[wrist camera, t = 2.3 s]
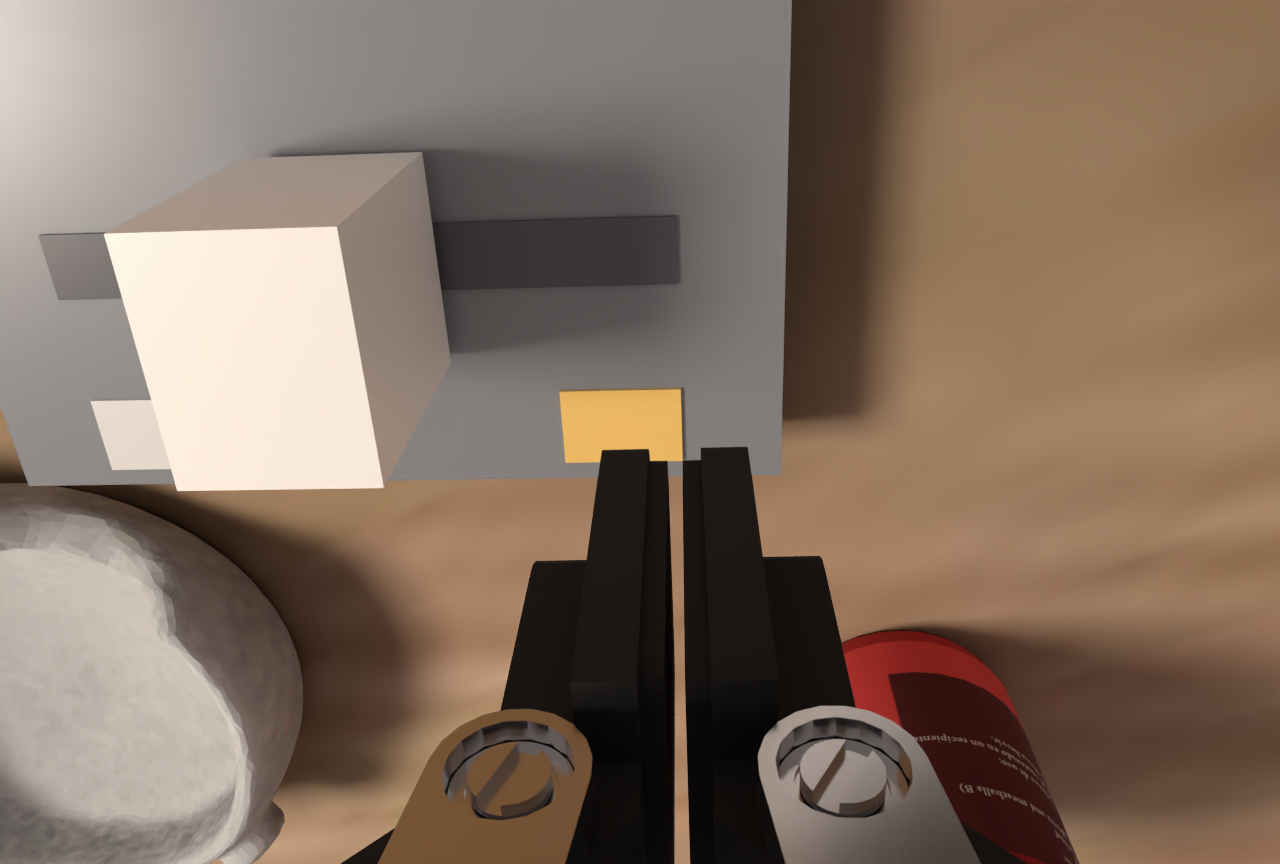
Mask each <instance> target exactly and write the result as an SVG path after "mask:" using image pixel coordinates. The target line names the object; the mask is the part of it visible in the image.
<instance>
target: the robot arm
mask: <svg viewBox="0 0 1280 864" xmlns="http://www.w3.org/2000/svg"><path fill="white" fill-rule="evenodd" d="M683 542H684V625H685V691H686V729H687V764H688V798H689V833H690V864H1027V863H1026V862H1024V861H1022V860H1021V859H1019V858H1018V857H1016V856H1014V855H1013V854H1011V853H1010V852H1008V851H1006V850H1005V849H1003V848H1002V847H1000V846H999V845H997V844H995V843H994V842H992V841H991V840H989V839H987V838H986V837H984V836H983V835H981V834H979V833H978V832H976V831H975V830H973V829H971V828H970V827H968V826H967V825H965V824H963V823H962V822H960V821H959V819H958V817H957V815H956V813H955V811H954V809H953V807H952V805H951V803H950V801H949V799H948V797H947V795H946V793H945V791H944V789H943V787H942V785H941V783H940V781H939V779H938V777H937V775H936V773H935V771H934V769H933V767H932V765H931V763H930V761H929V759H928V757H927V755H926V754H925V752H924V751H923V749H922V748H921V747H920V745H919V744H918V743H917V741H916V740H915V739H914V737H913V736H912V735H910V734H909V733H908V732H907V731H905V730H904V729H903V728H901V727H900V726H899V725H898V724H896V723H895V722H894V721H891V720H889V719H887V718H885V717H882V716H880V715H878V714H876V713H874V712H871V711H868V710H863V709H858V708H856V706H855V701H854V697H853V692H852V688H851V683H850V679H849V675H848V670H847V666H846V661H845V657H844V652H843V648H842V644H841V639H840V635H839V630H838V626H837V621H836V617H835V613H834V608H833V604H832V599H831V595H830V590H829V586H828V581H827V577H826V573H825V568H824V564H823V561H822V558H821V557H820V556H795V557H763V556H762V549H761V541H760V534H759V526H758V519H757V511H756V504H755V497H754V489H753V482H752V474H751V467H750V459H749V452H748V447H711V448H701V460H683ZM674 759H675V664H674V629H673V600H672V570H671V541H670V512H669V483H668V461H650V454H649V449H623V450H602V453H601V460H600V467H599V474H598V481H597V489H596V496H595V503H594V511H593V518H592V525H591V532H590V540H589V547H588V554H587V560H567V561H536V562H535V563H534V564H533V567H532V570H531V574H530V578H529V583H528V588H527V592H526V597H525V601H524V606H523V610H522V615H521V620H520V624H519V629H518V633H517V638H516V642H515V647H514V652H513V656H512V661H511V665H510V670H509V674H508V679H507V684H506V688H505V693H504V697H503V702H502V706H501V711H498V712H494V713H490V714H485V715H482V716H480V717H478V718H476V719H474V720H471V721H469V722H467V723H465V724H463V725H461V726H460V727H458V728H457V729H456V730H455V731H453V732H452V733H451V734H450V735H448V736H447V737H446V738H445V739H443V740H442V741H441V743H440V744H439V745H438V747H437V748H436V750H435V751H434V753H433V754H432V755H431V757H430V758H429V760H428V762H427V764H426V766H425V768H424V770H423V772H422V774H421V776H420V778H419V780H418V782H417V784H416V787H415V789H414V791H413V793H412V795H411V797H410V799H409V801H408V803H407V805H406V807H405V809H404V811H403V813H402V815H401V817H400V819H399V821H398V823H397V825H396V827H395V828H394V829H393V830H391V831H390V832H388V833H387V834H385V835H384V836H382V837H381V838H379V839H378V840H376V841H375V842H373V843H372V844H370V845H368V846H367V847H365V848H364V849H362V850H361V851H359V852H358V853H356V854H355V855H353V856H352V857H350V858H349V859H347V860H346V861H344V862H343V863H341V864H674Z"/></svg>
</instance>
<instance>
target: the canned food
mask: <svg viewBox="0 0 1280 864" xmlns="http://www.w3.org/2000/svg"><path fill="white" fill-rule="evenodd" d="M842 648H843V652H844V657H845V661H846V666H847V670H848V675H849V679H850V683H851V688H852V692H853V697H854V701H855V706H856V708H858V709H863V710H868V711H871V712H874V713H876V714H878V715H880V716H882V717H885V718H887V719H889V720H891V721H894V722H895V723H896V724H898V725H899V726H900V727H901V728H903V729H904V730H905V731H907V732H908V733H909V734H910V735H912V736H913V737H914V739H915V740H916V741H917V743H918V744H919V745H920V747H921V748H922V749H923V751H924V752H925V754H926V755H927V757H928V759H929V761H930V763H931V765H932V767H933V769H934V771H935V773H936V775H937V777H938V779H939V781H940V783H941V785H942V787H943V789H944V791H945V793H946V795H947V797H948V799H949V801H950V803H951V805H952V807H953V809H954V811H955V813H956V815H957V817H958V819H959V821H960V822H962V823H963V824H965V825H967V826H968V827H970V828H971V829H973V830H975V831H976V832H978V833H979V834H981V835H983V836H984V837H986V838H987V839H989V840H991V841H992V842H994V843H995V844H997V845H999V846H1000V847H1002V848H1003V849H1005V850H1006V851H1008V852H1010V853H1011V854H1013V855H1014V856H1016V857H1018V858H1019V859H1021V860H1022V861H1024V862H1026V863H1027V864H1079V862H1078V859H1077V857H1076V854H1075V852H1074V850H1073V847H1072V845H1071V842H1070V840H1069V838H1068V835H1067V833H1066V830H1065V828H1064V826H1063V823H1062V821H1061V818H1060V816H1059V814H1058V811H1057V809H1056V806H1055V804H1054V802H1053V799H1052V797H1051V794H1050V792H1049V790H1048V787H1047V785H1046V782H1045V780H1044V778H1043V775H1042V773H1041V770H1040V768H1039V766H1038V763H1037V761H1036V758H1035V756H1034V754H1033V751H1032V749H1031V746H1030V744H1029V742H1028V739H1027V737H1026V734H1025V732H1024V730H1023V727H1022V725H1021V723H1020V720H1019V718H1018V715H1017V713H1016V711H1015V708H1014V706H1013V703H1012V701H1011V699H1010V697H1009V695H1008V693H1007V691H1006V689H1005V687H1004V685H1003V684H1002V683H1001V682H1000V681H999V679H998V678H997V677H996V676H995V675H994V674H993V672H992V671H991V670H990V669H989V668H988V667H987V666H986V665H985V664H984V663H983V662H982V661H981V660H980V659H979V658H978V657H976V656H975V655H974V654H972V653H971V652H970V651H968V650H967V649H966V648H964V647H963V646H961V645H959V644H957V643H955V642H952V641H950V640H948V639H946V638H944V637H940V636H936V635H932V634H928V633H924V632H914V631H901V630H899V631H888V632H877V633H873V634H869V635H865V636H861V637H857V638H854V639H851V640H849V641H847V642H845V643H842Z"/></svg>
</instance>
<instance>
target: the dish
mask: <svg viewBox="0 0 1280 864" xmlns="http://www.w3.org/2000/svg"><path fill="white" fill-rule="evenodd" d="M302 713H303V682H302V675H301V668H300V663H299V660H298V656H297V653H296V650H295V647H294V644H293V642H292V639H291V637H290V635H289V632H288V630H287V628H286V626H285V625H284V623H283V621H282V619H281V618H280V616H279V614H278V613H277V611H276V610H275V608H274V607H273V606H272V604H271V603H270V602H269V601H268V599H267V598H266V597H265V596H264V595H263V593H262V592H261V591H260V590H259V588H258V587H257V586H256V585H255V584H254V582H253V581H252V580H251V579H250V578H249V577H248V576H247V575H245V574H244V573H243V572H242V571H241V570H240V569H239V568H238V567H237V566H236V565H235V564H234V563H232V562H231V561H230V560H229V559H227V558H226V557H225V556H223V555H222V554H221V553H219V552H218V551H217V550H215V549H214V548H212V547H211V546H210V545H208V544H207V543H205V542H204V541H202V540H201V539H199V538H197V537H196V536H194V535H193V534H191V533H190V532H188V531H186V530H184V529H182V528H180V527H178V526H176V525H174V524H172V523H170V522H168V521H166V520H163V519H161V518H159V517H157V516H154V515H152V514H150V513H148V512H145V511H143V510H141V509H138V508H136V507H133V506H131V505H128V504H125V503H122V502H119V501H116V500H113V499H110V498H107V497H104V496H101V495H98V494H93V493H88V492H83V491H78V490H74V489H69V488H64V487H59V486H29V485H28V483H0V864H209V863H211V862H212V861H214V860H216V859H219V860H220V861H221V862H223V863H224V864H252V863H253V862H255V861H256V860H258V859H259V858H260V857H261V856H262V855H263V854H264V853H265V852H266V851H267V850H268V848H269V847H270V846H271V844H272V843H273V842H274V840H275V839H276V838H277V836H278V835H279V833H280V830H281V828H282V826H283V824H284V821H285V819H284V814H283V812H282V810H281V809H280V808H279V807H278V806H277V805H276V804H275V803H274V802H273V801H272V798H273V797H274V795H275V793H276V791H277V789H278V787H279V785H280V784H281V782H282V780H283V777H284V775H285V773H286V770H287V768H288V766H289V763H290V761H291V758H292V755H293V752H294V749H295V745H296V742H297V738H298V735H299V731H300V726H301V721H302Z"/></svg>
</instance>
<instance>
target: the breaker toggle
mask: <svg viewBox="0 0 1280 864" xmlns="http://www.w3.org/2000/svg"><path fill="white" fill-rule="evenodd" d="M104 237H105V240H106V244H107V247H108V251H109V254H110V257H111V261H112V264H113V268H114V271H115V275H116V278H117V282H118V285H119V289H120V292H121V296H122V299H123V303H124V306H125V310H126V313H127V317H128V320H129V324H130V327H131V331H132V334H133V338H134V341H135V345H136V348H137V352H138V355H139V359H140V362H141V366H142V369H143V373H144V376H145V380H146V383H147V387H148V390H149V394H150V397H151V401H152V404H153V408H154V411H155V415H156V418H157V422H158V425H159V429H160V432H161V436H162V439H163V443H164V446H165V450H166V453H167V457H168V460H169V464H170V467H171V471H172V474H173V478H174V481H175V485H176V488H177V491H209V490H277V489H346V488H384V487H385V485H386V483H387V481H388V479H389V477H390V476H391V474H392V472H393V470H394V468H395V466H396V464H397V463H398V461H399V459H400V457H401V455H402V453H403V451H404V450H405V448H406V446H407V444H408V442H409V440H410V438H411V437H412V435H413V433H414V431H415V429H416V427H417V425H418V424H419V422H420V420H421V418H422V416H423V414H424V412H425V411H426V409H427V407H428V405H429V403H430V401H431V399H432V398H433V396H434V394H435V392H436V390H437V388H438V386H439V385H440V383H441V381H442V379H443V377H444V375H445V373H446V372H447V370H448V368H449V366H450V364H451V359H450V352H449V344H448V337H447V330H446V322H445V315H444V308H443V301H442V293H441V286H440V279H439V271H438V264H437V257H436V249H435V242H434V235H433V227H432V220H431V213H430V205H429V198H428V191H427V184H426V176H425V169H424V162H423V154H422V152H408V153H379V154H350V155H321V156H292V157H263V158H243V159H241V160H239V161H238V162H236V163H234V164H232V165H230V166H228V167H226V168H225V169H223V170H221V171H219V172H217V173H215V174H213V175H212V176H210V177H208V178H206V179H204V180H202V181H200V182H199V183H197V184H195V185H193V186H191V187H189V188H187V189H186V190H184V191H182V192H180V193H178V194H176V195H174V196H173V197H171V198H169V199H167V200H165V201H163V202H161V203H160V204H158V205H156V206H154V207H152V208H150V209H148V210H147V211H145V212H143V213H141V214H139V215H137V216H135V217H134V218H132V219H130V220H128V221H126V222H124V223H122V224H121V225H119V226H117V227H115V228H113V229H111V230H109V231H108V232H106V233H104Z"/></svg>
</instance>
